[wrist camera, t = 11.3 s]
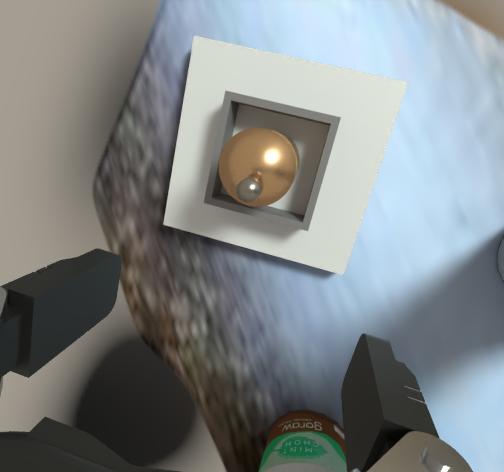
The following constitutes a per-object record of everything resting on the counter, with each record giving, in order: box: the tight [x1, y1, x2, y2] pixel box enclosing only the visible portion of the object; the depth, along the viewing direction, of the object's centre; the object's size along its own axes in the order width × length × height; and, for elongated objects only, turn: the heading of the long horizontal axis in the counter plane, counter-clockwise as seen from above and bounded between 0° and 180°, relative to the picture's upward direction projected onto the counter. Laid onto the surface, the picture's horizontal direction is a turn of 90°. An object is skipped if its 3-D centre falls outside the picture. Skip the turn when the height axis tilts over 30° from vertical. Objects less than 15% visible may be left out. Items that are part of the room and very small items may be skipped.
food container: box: [258, 410, 347, 472], centre depth 35 cm, size 12×6×10 cm, turn 113°
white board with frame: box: [163, 36, 408, 275], centre depth 31 cm, size 18×17×5 cm
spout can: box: [219, 128, 300, 207], centre depth 26 cm, size 5×5×11 cm
